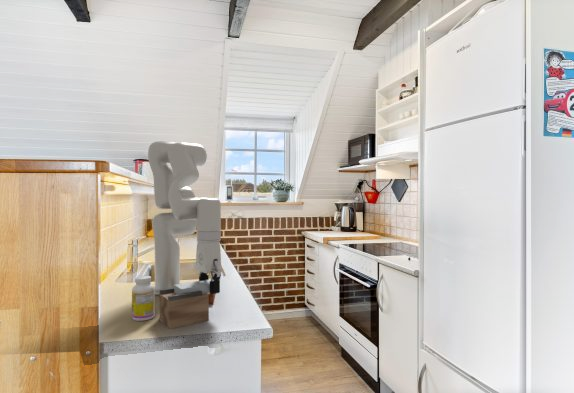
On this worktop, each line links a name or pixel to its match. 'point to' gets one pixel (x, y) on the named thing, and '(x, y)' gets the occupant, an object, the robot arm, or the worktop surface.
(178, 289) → the cover plate
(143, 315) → the supplement bottle
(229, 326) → the worktop surface
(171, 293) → the slot box
